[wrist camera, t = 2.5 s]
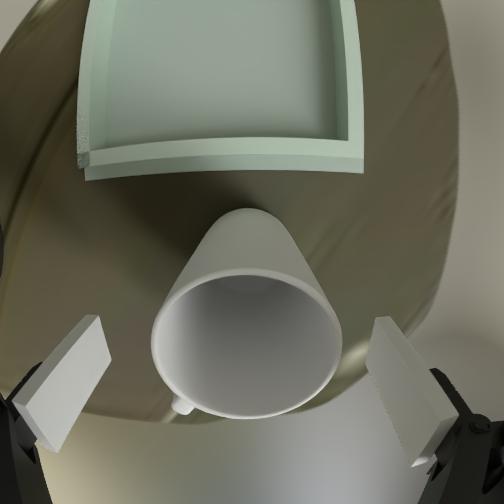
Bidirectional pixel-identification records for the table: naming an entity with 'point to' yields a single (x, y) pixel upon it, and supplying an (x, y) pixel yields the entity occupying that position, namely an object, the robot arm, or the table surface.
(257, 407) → the mug
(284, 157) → the tray
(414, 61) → the table surface
